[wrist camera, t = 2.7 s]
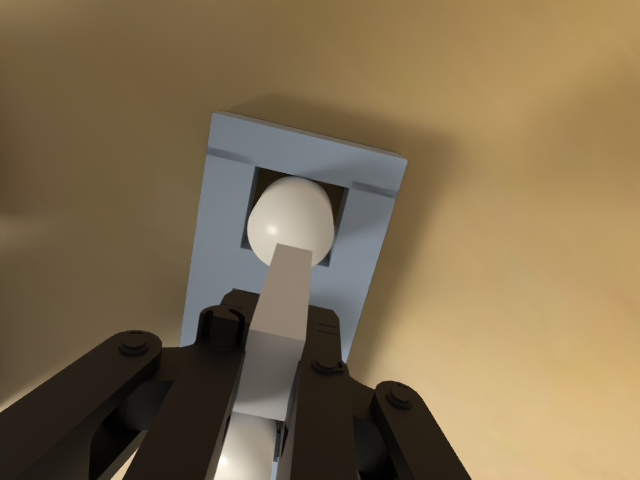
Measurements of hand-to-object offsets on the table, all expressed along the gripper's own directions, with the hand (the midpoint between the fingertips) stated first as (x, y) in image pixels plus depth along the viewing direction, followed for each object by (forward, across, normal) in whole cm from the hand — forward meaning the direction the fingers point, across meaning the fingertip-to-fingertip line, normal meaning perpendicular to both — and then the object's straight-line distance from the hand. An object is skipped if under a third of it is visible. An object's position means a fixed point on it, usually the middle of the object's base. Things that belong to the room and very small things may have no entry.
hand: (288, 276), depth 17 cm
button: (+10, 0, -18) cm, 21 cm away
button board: (+12, 0, -9) cm, 15 cm away
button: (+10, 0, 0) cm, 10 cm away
